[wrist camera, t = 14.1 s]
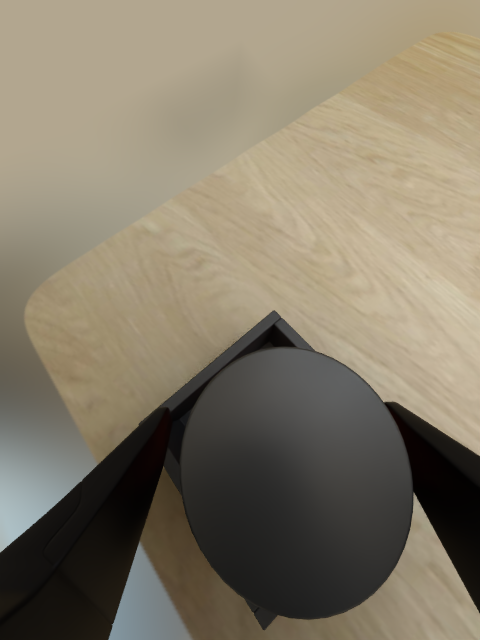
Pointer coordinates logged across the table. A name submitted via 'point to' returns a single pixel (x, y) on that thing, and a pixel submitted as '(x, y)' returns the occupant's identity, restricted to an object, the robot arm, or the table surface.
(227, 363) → the bin
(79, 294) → the table surface
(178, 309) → the table surface
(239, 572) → the takeaway cup
